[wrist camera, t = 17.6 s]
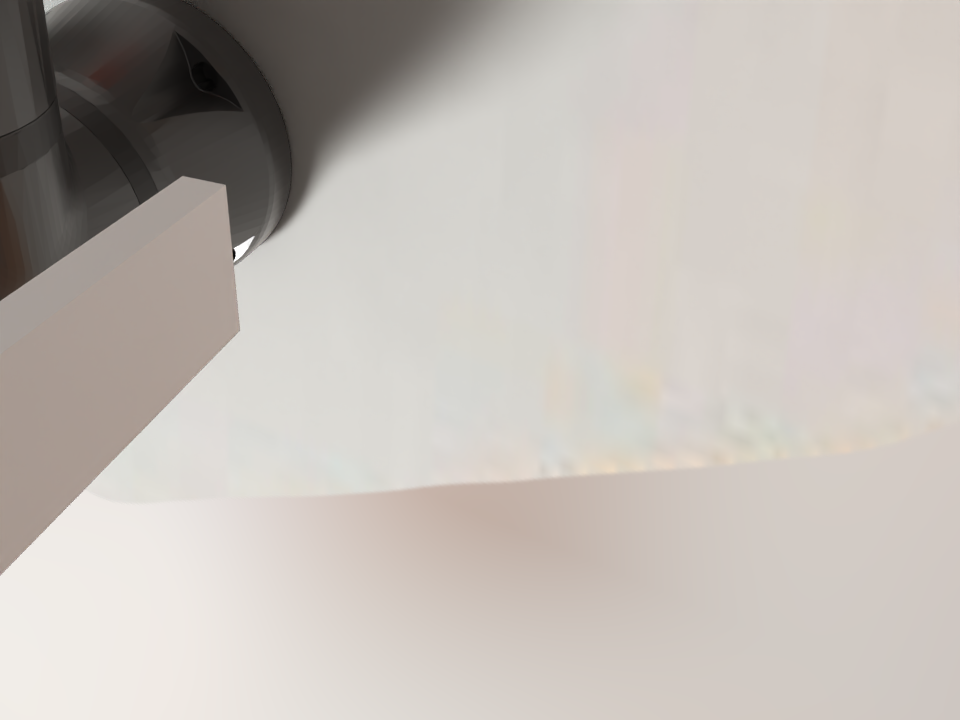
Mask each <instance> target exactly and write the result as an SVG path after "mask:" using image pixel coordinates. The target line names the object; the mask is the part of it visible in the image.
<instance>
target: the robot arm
mask: <svg viewBox="0 0 960 720" xmlns="http://www.w3.org/2000/svg"><path fill="white" fill-rule="evenodd" d="M290 183H291V156H290V148H289V142H288V137H287V133H286V128H285V125H284V122H283V118H282V116H281V113H280V110H279V108H278V105H277V103H276V101H275V98H274V96H273V94H272V92H271V90H270V88H269V86H268V85H267V83H266V81H265V79H264V78H263V76H262V74H261V73H260V71H259V70H258V68H257V67H256V65H255V64H254V63H253V61H252V60H251V59H250V57H249V56H248V55H247V54H246V52H245V51H244V50H243V49H242V48H241V46H240V45H239V44H238V43H237V42H236V41H235V40H234V39H233V38H232V37H231V36H230V35H229V34H228V33H227V32H226V31H225V30H224V29H223V28H222V27H220V26H219V25H218V24H217V23H216V22H214V21H213V20H212V19H210V18H209V17H208V16H206V15H205V14H204V13H202V12H201V11H199V10H197V9H196V8H194V7H193V6H191V5H189V4H187V3H185V2H184V1H182V0H67V1H64V2H62V3H60V4H58V5H57V6H55V7H53V8H52V9H50V10H49V11H47V12H46V13H45V11H44V5H43V0H0V575H1V574H2V573H3V572H4V571H5V570H6V569H7V568H8V567H9V566H10V565H11V564H12V563H13V562H14V561H15V560H16V559H17V558H18V557H19V556H20V555H21V554H22V553H23V552H24V551H25V550H26V549H27V548H28V547H29V546H30V545H31V544H32V542H33V541H35V540H36V538H37V537H38V536H39V535H40V534H41V533H42V532H43V531H44V530H45V529H46V528H47V527H48V526H49V525H50V524H51V523H52V522H53V521H54V520H55V519H56V518H57V517H58V516H59V515H60V514H61V513H62V512H63V511H64V510H65V509H66V508H67V507H68V506H69V505H70V503H72V502H73V501H74V500H75V498H77V497H78V496H79V495H80V494H81V492H82V491H83V490H84V489H85V488H86V487H87V486H88V485H89V484H90V483H91V482H92V481H93V480H94V479H95V478H96V477H97V476H98V475H99V474H100V473H101V472H102V471H103V470H104V469H105V468H106V467H107V466H108V465H109V464H110V463H111V462H112V461H113V460H114V459H115V458H116V457H117V456H118V455H119V454H120V453H121V452H122V451H123V450H124V449H125V448H126V446H127V445H128V444H129V443H130V442H131V441H132V440H133V439H134V438H135V437H136V436H137V435H138V434H139V433H140V432H141V431H142V430H143V429H144V428H145V427H146V426H147V425H148V424H149V423H150V422H151V421H152V420H153V419H154V418H155V417H156V416H157V415H158V414H159V413H160V412H161V411H162V410H163V409H164V408H165V407H166V406H167V405H168V404H169V403H170V402H171V401H172V399H173V398H174V397H175V396H176V395H177V394H178V393H179V392H180V391H181V390H182V389H183V388H184V387H185V386H186V385H187V384H188V383H189V382H190V381H191V380H192V379H193V378H194V377H195V376H196V375H197V374H198V373H199V372H200V371H201V370H202V369H203V368H204V367H205V366H206V365H207V364H208V363H209V362H210V361H211V360H212V359H213V358H214V357H215V356H216V355H217V353H218V352H219V351H220V350H221V349H222V348H223V347H224V346H225V345H226V344H227V343H228V342H229V341H230V340H231V339H232V338H233V337H234V336H235V335H236V334H237V333H238V332H239V331H240V325H239V315H238V304H237V294H236V284H235V274H234V266H235V265H236V264H238V263H239V262H241V261H242V260H243V259H244V258H245V257H247V256H248V255H249V254H250V253H251V252H252V251H254V250H255V249H256V248H257V247H258V246H259V245H260V244H262V243H263V242H264V241H265V240H266V239H267V238H268V237H269V235H270V234H271V233H272V232H273V230H274V229H275V227H276V226H277V224H278V222H279V220H280V219H281V217H282V214H283V212H284V209H285V206H286V203H287V200H288V195H289V191H290Z"/></svg>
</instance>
